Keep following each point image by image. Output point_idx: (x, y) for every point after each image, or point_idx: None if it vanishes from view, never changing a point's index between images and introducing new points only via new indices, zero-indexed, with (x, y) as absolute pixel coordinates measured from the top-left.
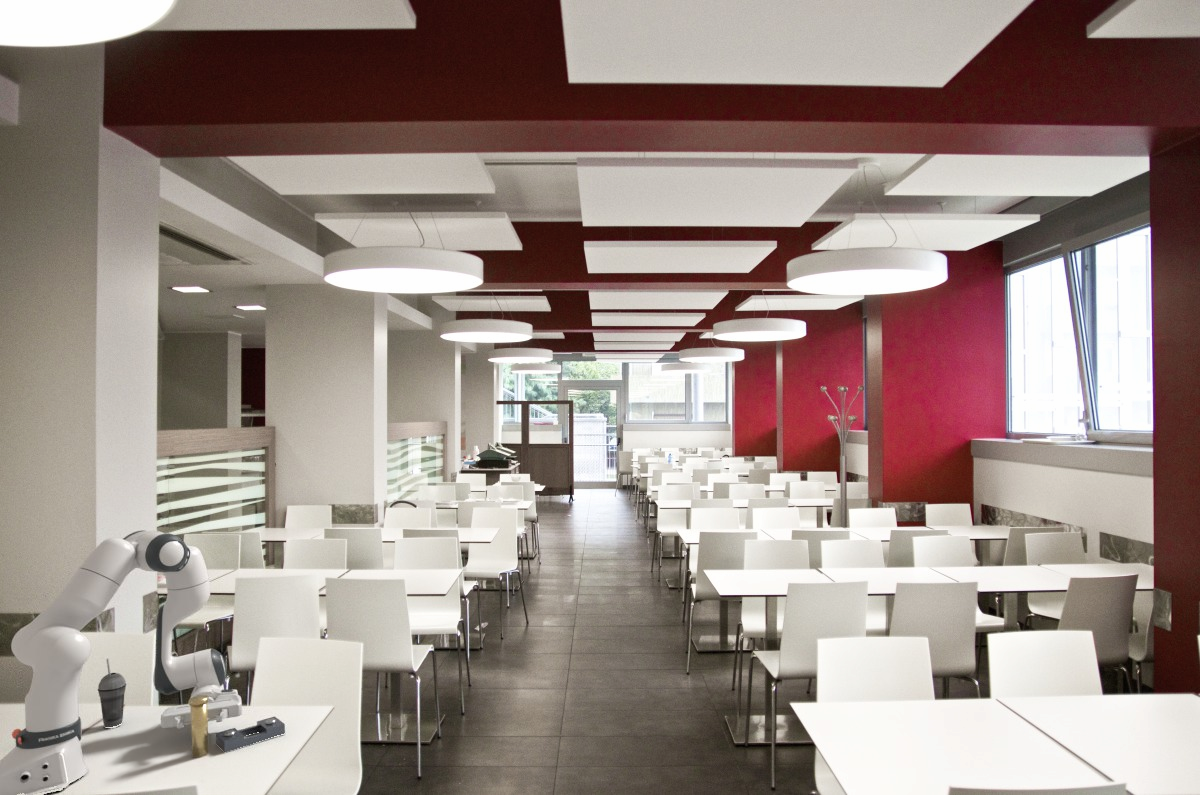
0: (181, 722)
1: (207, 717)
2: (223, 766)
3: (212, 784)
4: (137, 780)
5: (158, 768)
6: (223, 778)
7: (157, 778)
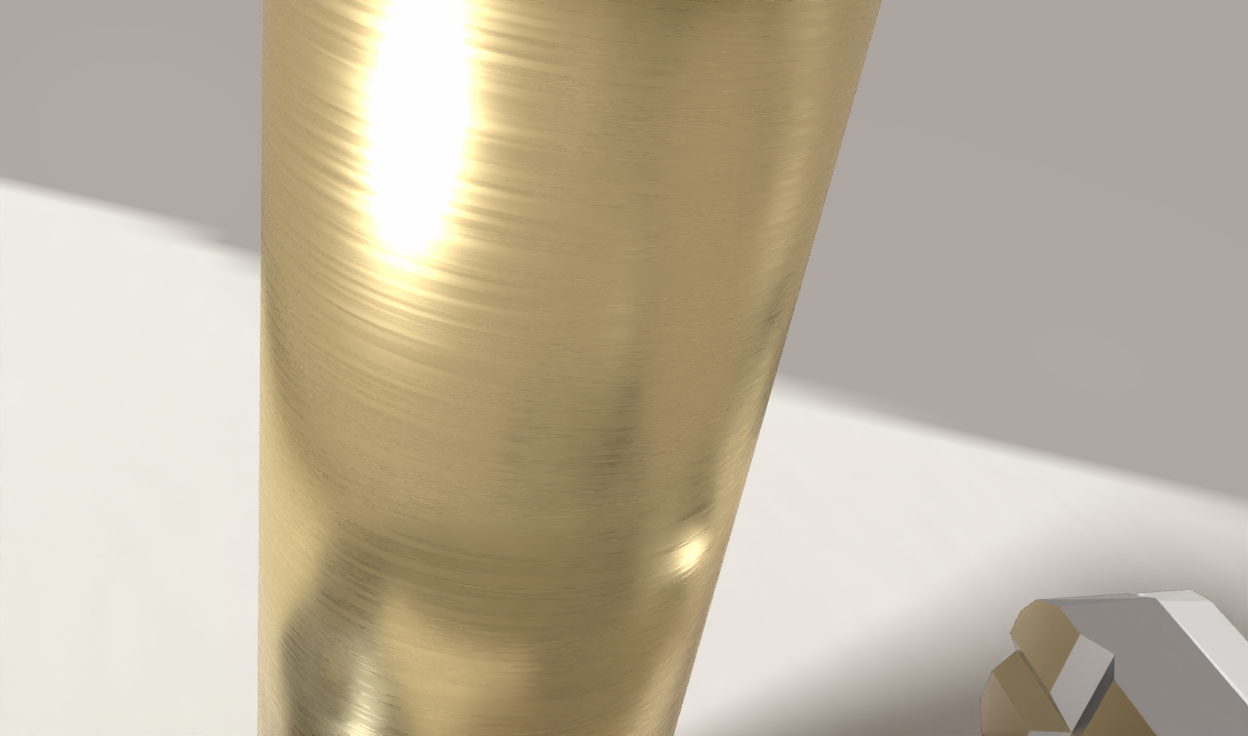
0: (1082, 601)
1: (261, 360)
2: (17, 473)
3: (164, 234)
4: (979, 501)
5: (930, 698)
6: (52, 274)
7: (773, 473)
